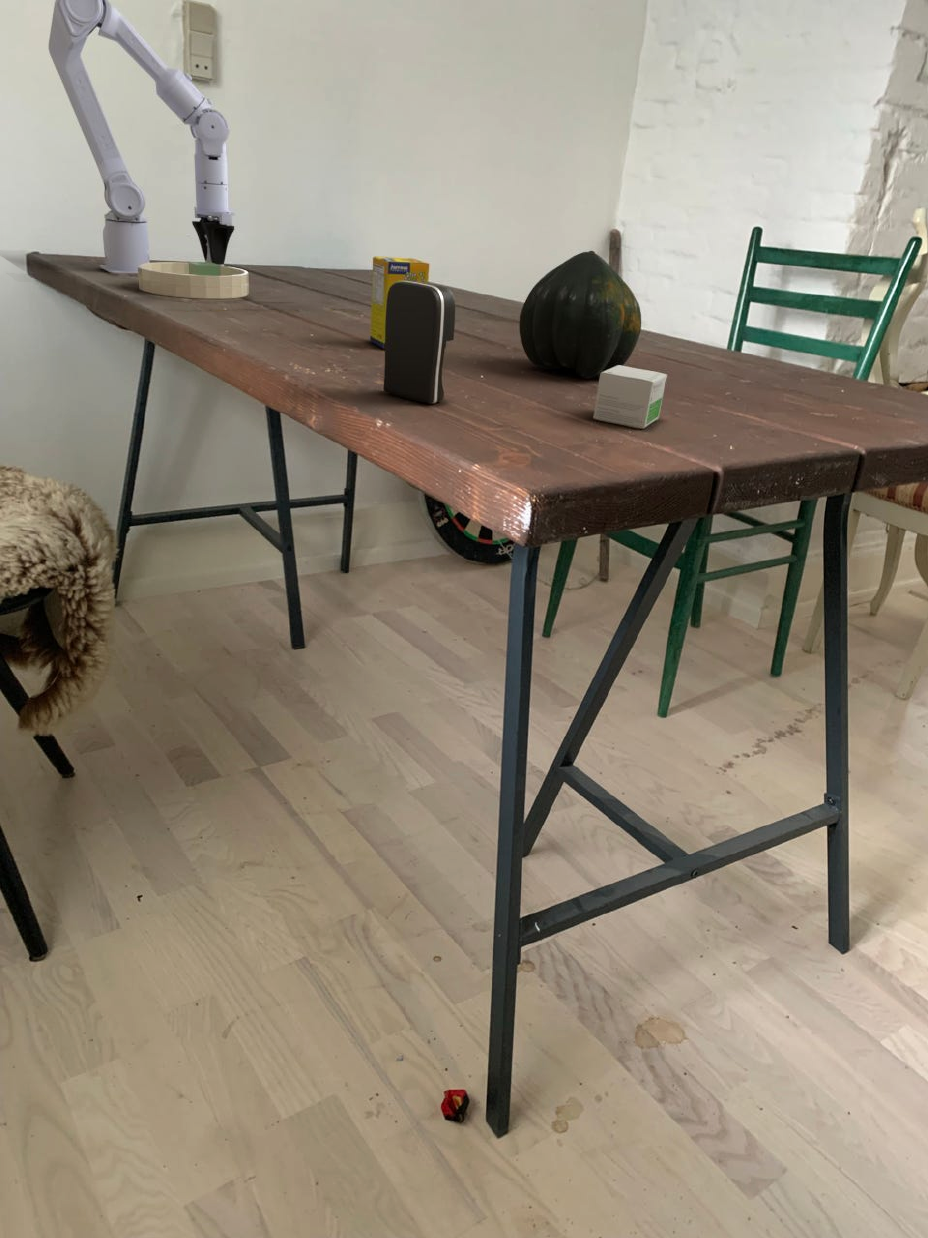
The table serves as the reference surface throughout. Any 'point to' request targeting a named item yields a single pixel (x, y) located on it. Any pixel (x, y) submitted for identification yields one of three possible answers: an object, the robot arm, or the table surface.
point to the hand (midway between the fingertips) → (214, 262)
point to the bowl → (192, 281)
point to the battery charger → (417, 339)
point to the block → (204, 268)
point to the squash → (580, 318)
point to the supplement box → (382, 280)
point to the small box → (629, 396)
